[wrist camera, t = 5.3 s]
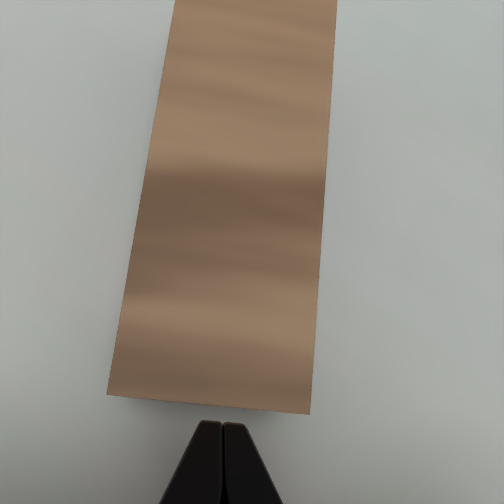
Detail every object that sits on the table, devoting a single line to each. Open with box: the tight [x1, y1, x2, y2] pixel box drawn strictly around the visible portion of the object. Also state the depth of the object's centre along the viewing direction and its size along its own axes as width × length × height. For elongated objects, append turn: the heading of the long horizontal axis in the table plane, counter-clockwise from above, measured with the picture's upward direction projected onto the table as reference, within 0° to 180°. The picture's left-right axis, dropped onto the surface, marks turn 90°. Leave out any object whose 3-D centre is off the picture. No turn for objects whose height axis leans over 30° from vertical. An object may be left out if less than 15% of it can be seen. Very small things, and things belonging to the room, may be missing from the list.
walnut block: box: [106, 0, 337, 415], centre depth 16 cm, size 5×5×14 cm
